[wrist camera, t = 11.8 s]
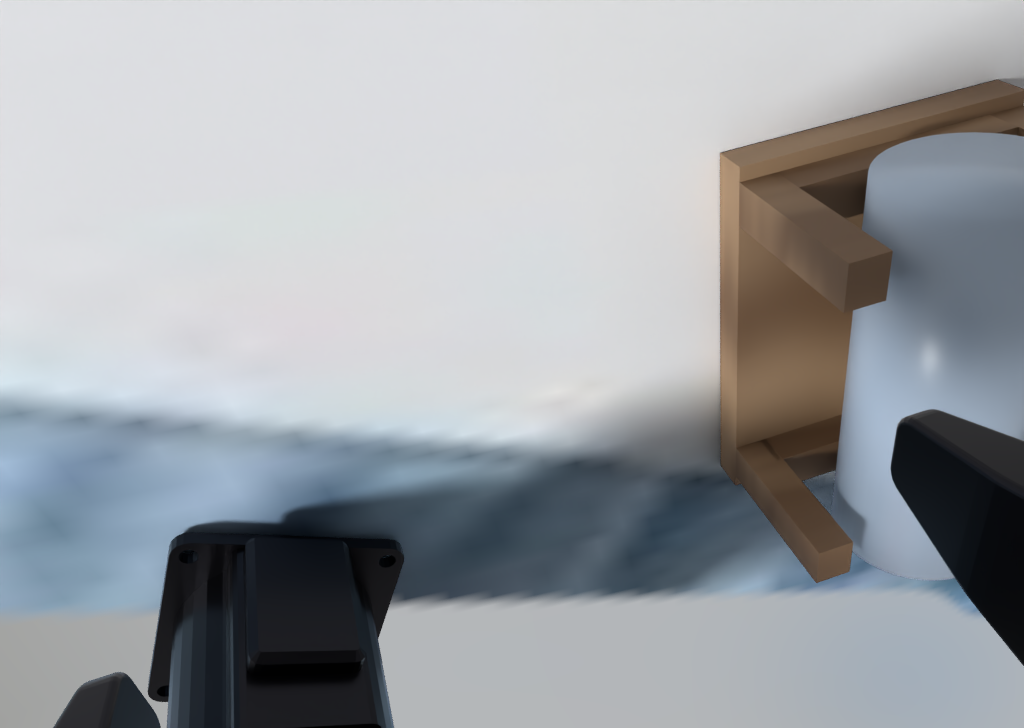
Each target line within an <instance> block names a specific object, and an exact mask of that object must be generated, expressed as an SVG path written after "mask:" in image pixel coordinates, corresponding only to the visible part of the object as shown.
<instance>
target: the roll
mask: <svg viewBox="0 0 1024 728" xmlns="http://www.w3.org/2000/svg"><path fill="white" fill-rule="evenodd" d="M862 230H863V231H864V232H866V233H867V234H869V235H870V236H872V237H873V238H875V239H876V240H878V241H879V242H881V243H882V244H884V245H885V246H886V247H888V248H889V249H891V250H892V251H893V254H892V261H891V269H890V276H889V283H888V291H887V298H886V301H883V302H880V303H876V304H873V305H870V306H866V307H863V308H860V309H856V310H853V316H852V325H851V334H850V343H849V353H848V362H847V371H846V380H845V389H844V399H843V408H842V417H841V426H840V435H839V445H838V454H837V463H836V472H835V482H834V491H833V500H832V514H831V515H832V517H833V519H834V520H835V521H836V522H837V523H838V525H839V526H840V527H841V528H842V529H843V530H844V532H845V533H846V534H847V535H848V536H849V538H850V539H851V540H852V541H853V548H852V552H853V553H855V554H856V555H857V556H858V557H860V558H861V559H863V560H864V561H866V562H867V563H869V564H871V565H873V566H874V567H876V568H878V569H881V570H883V571H885V572H888V573H891V574H894V575H897V576H901V577H905V578H909V579H917V580H930V581H934V580H947V579H953V578H955V577H954V576H953V574H952V573H951V571H950V570H949V568H948V567H947V565H946V564H945V562H944V561H943V559H942V558H941V556H940V554H939V553H938V551H937V550H936V548H935V547H934V545H933V544H932V542H931V541H930V539H929V538H928V536H927V535H926V533H925V531H924V530H923V528H922V527H921V525H920V524H919V522H918V521H917V519H916V518H915V516H914V515H913V513H912V512H911V510H910V508H909V507H908V505H907V504H906V502H905V501H904V499H903V498H902V496H901V495H900V493H899V492H898V490H897V488H896V486H895V484H894V482H893V480H892V476H891V469H890V468H891V460H892V454H893V447H894V441H895V435H896V429H897V425H898V423H899V422H900V420H901V419H902V418H904V417H906V416H909V415H912V414H915V413H919V412H922V411H925V410H929V409H936V410H940V411H944V412H946V413H949V414H952V415H955V416H957V417H960V418H963V419H965V420H968V421H971V422H974V423H976V424H979V425H982V426H985V427H987V428H990V429H993V430H995V431H998V432H1001V433H1004V434H1006V435H1009V436H1012V437H1015V438H1017V439H1020V440H1023V441H1024V137H1022V136H1017V135H1009V134H999V133H979V132H968V133H948V134H940V135H932V136H926V137H921V138H917V139H913V140H909V141H906V142H903V143H900V144H898V145H895V146H893V147H891V148H889V149H887V150H885V151H883V152H882V153H881V154H879V155H878V156H877V157H876V158H875V159H874V160H873V161H872V163H871V164H870V167H869V170H868V178H867V187H866V196H865V205H864V215H863V224H862Z"/></svg>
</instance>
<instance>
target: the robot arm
mask: <svg viewBox="0 0 1024 728" xmlns="http://www.w3.org/2000/svg"><path fill="white" fill-rule="evenodd" d="M890 469H891V476H892V480H893V482H894V484H895V486H896V488H897V490H898V492H899V493H900V495H901V496H902V498H903V499H904V501H905V502H906V504H907V505H908V507H909V508H910V510H911V512H912V513H913V515H914V516H915V518H916V519H917V521H918V522H919V524H920V525H921V527H922V528H923V530H924V531H925V533H926V535H927V536H928V538H929V539H930V541H931V542H932V544H933V545H934V547H935V548H936V550H937V551H938V553H939V554H940V556H941V558H942V559H943V561H944V562H945V564H946V565H947V567H948V568H949V570H950V571H951V573H952V574H953V576H954V577H955V579H956V580H957V582H958V583H959V585H960V586H961V587H962V589H963V590H964V592H965V593H966V594H967V596H968V597H969V598H970V600H971V601H972V602H973V604H974V605H975V606H976V607H977V609H978V610H979V611H980V613H981V614H982V615H983V616H984V617H985V619H986V620H987V621H988V622H989V624H990V625H991V626H992V627H993V628H994V630H995V631H996V632H997V634H998V635H999V636H1000V637H1001V638H1002V639H1003V641H1004V642H1005V643H1006V645H1007V646H1008V647H1009V648H1010V650H1011V651H1012V652H1013V653H1014V655H1015V656H1016V657H1017V658H1018V660H1019V661H1020V662H1021V663H1022V664H1023V666H1024V441H1023V440H1020V439H1017V438H1015V437H1012V436H1009V435H1006V434H1004V433H1001V432H998V431H995V430H993V429H990V428H987V427H985V426H982V425H979V424H976V423H974V422H971V421H968V420H965V419H963V418H960V417H957V416H955V415H952V414H949V413H946V412H944V411H940V410H936V409H929V410H925V411H922V412H919V413H915V414H912V415H909V416H906V417H904V418H902V419H901V420H900V422H899V423H898V425H897V429H896V435H895V441H894V447H893V454H892V460H891V468H890ZM185 550H193V551H195V552H193V553H185V552H183V551H185ZM386 555H391V556H389V557H386V558H382V557H383V556H386ZM403 562H404V555H403V551H402V547H401V545H400V543H398V542H397V541H395V540H390V539H366V538H336V537H306V536H277V535H247V534H217V533H184V534H181V535H179V536H176V537H175V538H174V539H173V540H172V541H171V544H170V546H169V552H168V559H167V565H166V572H165V578H164V585H163V591H162V598H161V604H160V611H159V618H158V624H157V631H156V637H155V644H154V650H153V657H152V663H151V670H150V676H149V684H148V695H149V697H150V698H151V699H153V700H155V701H159V702H168V715H167V728H394V725H393V719H392V714H391V709H390V703H389V697H388V692H387V687H386V681H385V676H384V670H383V665H382V659H381V654H380V648H379V643H378V637H379V634H380V631H381V628H382V625H383V622H384V619H385V616H386V613H387V610H388V607H389V604H390V601H391V598H392V595H393V592H394V589H395V586H396V583H397V580H398V577H399V574H400V571H401V568H402V565H403ZM53 728H160V723H159V720H158V718H157V715H156V713H155V712H154V710H153V709H152V707H151V706H150V705H149V703H148V702H147V700H146V699H145V698H144V696H143V695H142V693H141V692H140V691H139V690H138V688H137V686H136V685H135V684H134V682H133V681H132V680H131V678H130V677H129V676H128V675H127V674H125V673H122V672H117V673H113V674H110V675H107V676H104V677H100V678H98V679H95V680H91V681H88V682H86V683H84V684H83V685H82V686H81V687H80V688H79V689H78V690H77V691H76V692H75V694H74V695H73V697H72V699H71V700H70V702H69V703H68V705H67V707H66V708H65V710H64V711H63V713H62V715H61V716H60V718H59V719H58V721H57V723H56V724H55V726H54V727H53Z"/></svg>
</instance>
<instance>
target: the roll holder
mask: <svg viewBox="0 0 1024 728" xmlns="http://www.w3.org/2000/svg"><path fill="white" fill-rule="evenodd" d="M1023 103H1024V89H1022V88H1019V87H1016V86H1013V85H1011V84H1008V83H1005V82H1002V81H1000V80H994V81H991V82H987V83H983V84H979V85H975V86H972V87H968V88H964V89H960V90H957V91H953V92H949V93H945V94H941V95H938V96H934V97H930V98H926V99H923V100H919V101H915V102H911V103H908V104H904V105H900V106H896V107H892V108H889V109H885V110H881V111H877V112H874V113H870V114H866V115H862V116H859V117H855V118H851V119H847V120H843V121H840V122H836V123H832V124H828V125H825V126H821V127H817V128H813V129H809V130H806V131H802V132H798V133H794V134H791V135H787V136H783V137H779V138H776V139H772V140H768V141H764V142H760V143H757V144H753V145H749V146H745V147H742V148H738V149H734V150H730V151H727V152H723V153H720V384H721V467H722V468H723V469H724V471H725V472H726V473H727V475H728V476H729V477H730V479H731V480H732V481H733V483H734V484H735V485H738V484H742V485H743V487H744V488H745V489H746V491H747V492H748V493H749V495H750V496H751V497H752V499H753V500H754V501H755V503H756V504H757V505H758V507H759V508H760V509H761V511H762V512H763V513H764V515H765V516H766V517H767V519H768V520H769V521H770V522H771V524H772V525H773V526H774V528H775V529H776V530H777V532H778V533H779V534H780V536H781V537H782V538H783V540H784V541H785V542H786V544H787V545H788V546H789V548H790V549H791V550H792V552H793V553H794V554H795V556H796V557H797V558H798V560H799V561H800V562H801V563H802V565H803V566H804V567H805V569H806V570H807V571H808V573H809V574H810V575H811V577H812V578H813V579H814V581H815V582H816V583H818V582H821V581H824V580H827V579H829V578H832V577H835V576H838V575H841V574H844V573H847V572H849V570H850V563H851V555H852V548H853V541H852V540H851V539H850V538H849V536H848V535H847V534H846V533H845V532H844V530H843V529H842V528H841V527H840V526H839V525H838V523H837V522H836V521H835V520H834V519H833V517H832V516H831V515H830V514H829V513H828V512H827V510H826V509H825V508H824V507H823V506H822V505H821V503H820V502H819V501H818V500H817V499H816V497H815V496H814V495H813V494H812V493H811V492H810V490H809V489H808V488H807V487H806V486H805V484H804V483H803V482H802V481H803V480H806V479H809V478H812V477H815V476H818V475H821V474H824V473H828V472H831V471H834V470H836V463H837V454H838V445H839V435H840V426H841V417H842V408H843V399H844V389H845V380H846V371H847V362H848V353H849V343H850V334H851V325H852V316H853V310H856V309H860V308H863V307H866V306H870V305H873V304H876V303H880V302H883V301H886V298H887V291H888V283H889V276H890V269H891V261H892V254H893V251H892V250H891V249H889V248H888V247H886V246H885V245H884V244H882V243H881V242H879V241H878V240H876V239H875V238H873V237H872V236H870V235H869V234H867V233H866V232H864V231H863V230H862V224H863V215H864V205H865V196H866V187H867V178H868V170H869V167H870V164H871V163H872V161H873V160H874V159H875V158H876V157H877V156H878V155H879V154H881V153H882V152H883V151H885V150H887V149H889V148H891V147H893V146H895V145H898V144H900V143H903V142H906V141H909V140H913V139H917V138H921V137H926V136H932V135H940V134H948V133H968V132H979V133H999V134H1009V135H1017V136H1022V137H1024V106H1023Z"/></svg>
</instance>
